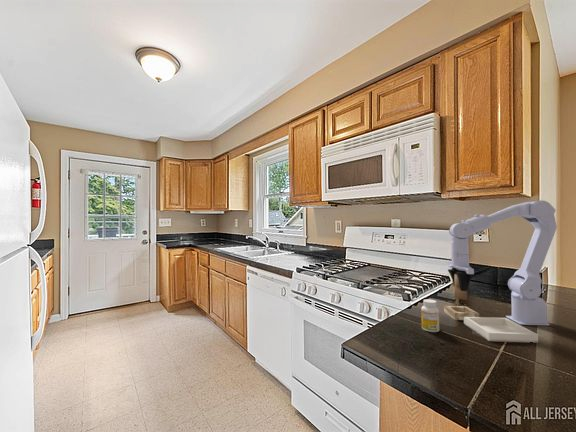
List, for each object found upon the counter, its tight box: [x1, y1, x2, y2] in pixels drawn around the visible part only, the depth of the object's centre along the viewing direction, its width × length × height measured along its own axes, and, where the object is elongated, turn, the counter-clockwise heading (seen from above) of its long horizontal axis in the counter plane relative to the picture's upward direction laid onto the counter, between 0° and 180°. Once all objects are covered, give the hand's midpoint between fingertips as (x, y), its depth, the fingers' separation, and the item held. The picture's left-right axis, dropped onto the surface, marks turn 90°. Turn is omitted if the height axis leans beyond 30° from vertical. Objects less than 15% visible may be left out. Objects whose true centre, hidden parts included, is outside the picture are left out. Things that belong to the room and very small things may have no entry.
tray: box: [463, 316, 539, 344], centre depth 90 cm, size 14×14×2 cm
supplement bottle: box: [420, 298, 440, 333], centre depth 93 cm, size 5×5×10 cm
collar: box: [443, 305, 480, 321], centre depth 105 cm, size 8×8×2 cm
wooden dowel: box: [454, 274, 468, 301], centre depth 105 cm, size 4×4×9 cm
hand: (460, 289), depth 105 cm, fingers closed on wooden dowel, 4 cm apart
